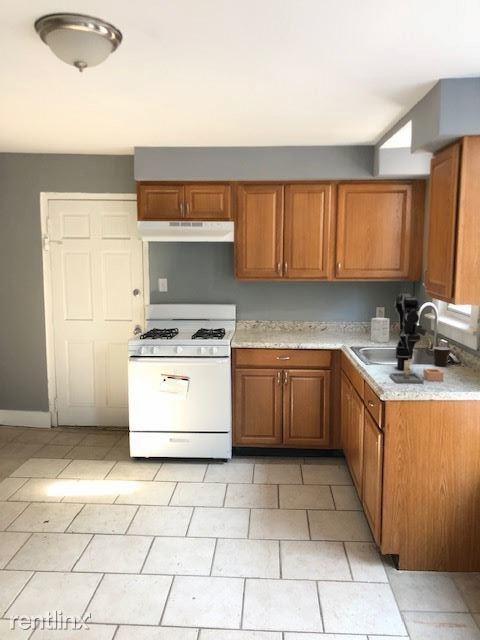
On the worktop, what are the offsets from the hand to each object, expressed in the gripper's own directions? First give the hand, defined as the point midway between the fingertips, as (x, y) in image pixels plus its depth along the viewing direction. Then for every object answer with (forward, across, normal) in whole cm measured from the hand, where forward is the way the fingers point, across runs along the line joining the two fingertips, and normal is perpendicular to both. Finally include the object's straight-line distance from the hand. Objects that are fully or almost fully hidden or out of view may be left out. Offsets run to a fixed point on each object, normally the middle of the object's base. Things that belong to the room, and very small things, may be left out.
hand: (407, 351), depth 254 cm
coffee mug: (+13, +25, -27) cm, 39 cm away
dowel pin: (+12, -9, +3) cm, 15 cm away
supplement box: (+13, +101, -10) cm, 102 cm away
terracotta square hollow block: (+13, -7, -11) cm, 18 cm away
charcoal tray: (+13, -9, +3) cm, 16 cm away
